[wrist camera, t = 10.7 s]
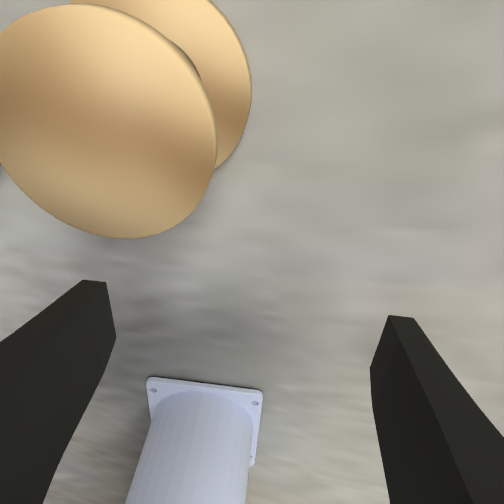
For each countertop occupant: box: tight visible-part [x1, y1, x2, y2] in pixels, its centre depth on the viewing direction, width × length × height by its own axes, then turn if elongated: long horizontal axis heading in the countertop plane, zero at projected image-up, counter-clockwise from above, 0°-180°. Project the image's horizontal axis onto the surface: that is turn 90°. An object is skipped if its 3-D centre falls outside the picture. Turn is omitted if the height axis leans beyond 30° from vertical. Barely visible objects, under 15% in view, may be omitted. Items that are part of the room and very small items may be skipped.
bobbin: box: [0, 0, 252, 239], centre depth 15 cm, size 8×8×6 cm
